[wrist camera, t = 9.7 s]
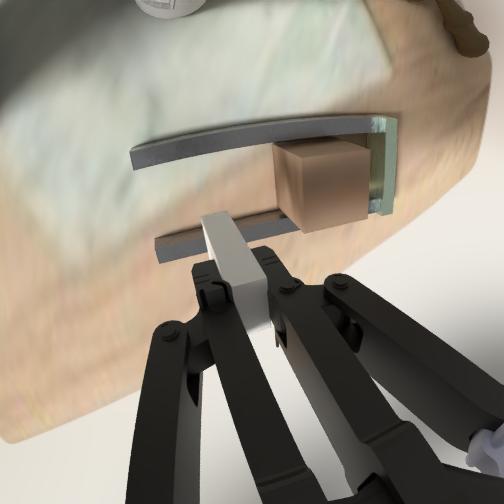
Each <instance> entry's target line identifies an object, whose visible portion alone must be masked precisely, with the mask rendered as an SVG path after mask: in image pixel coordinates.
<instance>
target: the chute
mask: <svg viewBox="0 0 504 504" xmlns="http://www.w3.org/2000/svg"><path fill="white" fill-rule="evenodd" d="M356 133H367V149H370V182H369V203H368V214H371V213H375V212H376V213H378V214H379V215H381V216H384V215H388V214H392V213H393V202H394V190H395V176H396V157H397V118H393V117H388V116H384V115H379V114H365V115H338V116H321V117H308V118H296V119H286V120H277V121H269V122H261V123H253V124H246V125H239V126H233V127H227V128H221V129H215V130H209V131H204V132H199V133H194V134H189V135H184V136H179V137H175V138H170V139H166V140H161V141H157V142H153V143H149V144H145V145H141V146H137V147H133V148H132V149H131V150H130V157H131V161H132V166H133V170H138V169H142V168H145V167H149V166H153V165H157V164H162V163H166V162H170V161H174V160H179V159H183V158H188V157H193V156H197V155H202V154H207V153H212V152H218V151H223V150H228V149H234V148H240V147H246V146H252V145H258V144H265V143H272V142H279V141H286V140H294V139H302V138H311V137H321V136H331V135H342V134H356ZM233 221H234V223H235V225H236V226H237V228H238V230H239V231H240V233H241V235H242V236H243V238H244V240H245V241H246V243H247V242H251V241H255V240H259V239H264V238H268V237H272V236H276V235H280V234H285V233H289V232H293V231H297V230H300V229H299V228H298V226H297V225H296V224H295V223H294V222H293V221H292V220H291V219H290V218H289V217H288V216H287V215H286V214H285V213H284V212H283V211H282V210H276V211H272V212H267V213H262V214H258V215H253V216H249V217H244V218H240V219H235V220H233ZM155 251H156V255H157V258H158V261H159V264H161V263H165V262H169V261H173V260H177V259H181V258H185V257H189V256H193V255H197V254H201V253H205V252H208V250H207V245H206V240H205V236H204V231H203V227H201V228H197V229H192V230H188V231H184V232H180V233H176V234H172V235H168V236H164V237H160V238H156V239H155Z"/></svg>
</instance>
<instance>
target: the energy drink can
mask: <svg viewBox="0 0 504 504" xmlns="http://www.w3.org/2000/svg"><path fill="white" fill-rule="evenodd" d="M135 1H136V3H137V5H138V6H139V8H140V9H141V10H143V11H144V12H145V13H147V14H149V15H151V16H154V17H157V18H163V19H174V18H179V17H183V16H186V15H189V14H191V13H192V12H194V11H196V10H197V9H199V8H200V7H201V6H202V5H203V4H204V3H205V2H206V0H135Z"/></svg>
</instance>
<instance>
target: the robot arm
mask: <svg viewBox="0 0 504 504" xmlns="http://www.w3.org/2000/svg"><path fill="white" fill-rule="evenodd" d="M201 221H202V226H203V231H204V236H205V240H206V245H207V250H208V255H209V259H210V260H208V261H204V262H200V263H196V264H194V266H193V268H192V271H191V272H192V276H193V281H194V285H195V289H196V296H197V299H198V303H199V306H200V308H199V312H198V313H197V315H196V316H195V317H194V318H193V319H191V320H190V321H188V322H186V323H182V322H180V321H174V320H171V321H167V322H164V323H162V324H160V325H159V326H158V327H157V328H156V329H155V331H154V333H153V336H152V341H151V345H150V350H149V354H148V359H147V364H146V369H145V374H144V379H143V384H142V389H141V394H140V400H139V406H138V411H137V417H136V423H135V430H134V436H133V443H132V450H131V457H130V465H129V473H128V481H127V490H126V501H125V504H200V438H201V407H202V385H203V384H202V382H203V371H204V370H205V369H207V368H209V367H211V366H212V365H214V364H216V367H217V370H218V374H219V377H220V381H221V384H222V387H223V390H224V394H225V396H226V400H227V403H228V406H229V409H230V412H231V415H232V418H233V422H234V425H235V427H236V430H237V433H238V436H239V439H240V442H241V445H242V448H243V451H244V454H245V456H246V459H247V462H248V465H249V467H250V470H251V473H252V476H253V478H254V481H255V484H256V487H257V490H258V493H259V495H260V498H261V500H262V503H263V504H504V385H502V384H500V383H499V382H498V381H496V380H495V379H494V378H492V377H491V376H489V375H488V374H487V373H486V372H485V371H483V370H482V369H480V368H479V367H478V366H477V365H475V364H474V363H473V362H471V361H470V360H469V359H467V358H466V357H465V356H463V355H462V354H461V353H459V352H458V351H456V350H455V349H454V348H452V347H451V346H450V345H448V344H447V343H445V342H444V341H443V340H441V339H440V338H439V337H437V336H436V335H434V334H433V333H431V332H430V331H429V330H428V329H426V328H425V327H423V326H422V325H420V324H419V323H418V322H416V321H415V320H413V319H412V318H411V317H409V316H408V315H406V314H405V313H404V312H402V311H401V310H399V309H398V308H396V307H395V306H393V305H392V304H391V303H389V302H388V301H386V300H385V299H383V298H382V297H380V296H379V295H378V294H376V293H375V292H373V291H372V290H370V289H369V288H367V287H366V286H364V285H363V284H361V283H360V282H359V281H357V280H356V279H354V278H353V277H351V276H349V275H346V274H341V273H338V274H332V275H329V276H328V277H327V278H326V279H325V281H324V285H305V284H304V283H303V282H302V281H301V280H300V279H297V278H295V277H292V276H291V275H290V273H289V272H288V270H287V269H286V268H285V266H284V265H283V263H282V262H281V261H280V259H279V258H278V257H277V255H276V254H275V252H274V251H273V250H272V249H271V248H269V247H267V246H261V247H257V248H253V249H250V248H249V247H248V245H247V243H246V241H245V240H244V238H243V236H242V235H241V233H240V231H239V230H238V228H237V226H236V225H235V223H234V221H233V220H232V218H231V216H230V215H229V213H228V211H223V212H219V213H214V214H210V215H206V216H201ZM271 321H272V322H273V324H274V327H275V340H276V347H279V343H280V345H281V347H282V349H283V351H284V353H285V355H286V357H287V359H288V361H289V363H290V365H291V367H292V369H293V371H294V373H295V374H296V377H297V379H298V381H299V383H300V385H301V387H302V388H303V390H304V392H305V394H306V396H307V398H308V400H309V402H310V404H311V406H312V408H313V410H314V412H315V414H316V415H317V417H318V419H319V421H320V423H321V425H322V427H323V429H324V431H325V433H326V434H327V436H328V438H329V440H330V442H331V444H332V446H333V448H334V450H335V452H336V453H337V455H338V457H339V459H340V461H341V463H342V465H343V467H344V470H345V477H346V479H347V482H348V484H349V486H350V488H351V490H352V492H353V494H354V496H351V497H347V498H343V499H338V500H333V501H327V499H326V497H325V495H324V493H323V491H322V489H321V487H320V485H319V483H318V481H317V479H316V477H315V475H314V473H313V472H312V471H311V469H310V468H308V467H307V465H306V464H305V462H304V460H303V458H302V456H301V453H300V451H299V449H298V447H297V445H296V443H295V441H294V439H293V436H292V434H291V432H290V430H289V428H288V426H287V423H286V421H285V419H284V417H283V414H282V412H281V410H280V408H279V406H278V403H277V401H276V399H275V397H274V395H273V392H272V390H271V388H270V385H269V383H268V381H267V379H266V376H265V374H264V372H263V369H262V367H261V365H260V362H259V360H258V358H257V356H256V353H255V351H254V349H253V346H252V344H251V341H250V339H249V337H248V334H251V333H254V332H257V331H261V330H264V329H267V328H271ZM370 376H371V377H372V378H373V379H374V380H376V381H377V382H378V383H379V384H380V385H381V386H382V387H384V388H385V389H386V390H387V391H388V392H389V393H390V394H392V395H393V396H394V397H395V398H396V399H397V400H398V401H399V402H401V403H402V404H403V405H404V406H405V407H406V408H408V409H409V410H410V411H411V412H412V413H413V414H414V415H416V416H417V417H418V418H419V419H420V420H421V421H423V422H424V423H425V424H426V425H427V426H428V427H429V428H431V429H432V430H433V431H434V432H435V433H437V434H438V435H439V436H440V437H441V438H443V439H444V440H445V441H446V442H448V443H449V444H451V445H452V446H454V447H456V448H458V449H460V450H462V451H464V452H467V453H468V455H467V456H466V464H467V465H468V466H469V467H476V468H478V469H479V470H480V471H481V473H478V472H474V471H470V470H466V469H462V468H458V467H455V466H451V465H447V464H444V463H441V462H440V460H439V459H438V457H437V456H436V454H435V453H434V452H433V450H432V448H431V447H430V445H429V444H428V442H427V441H426V439H425V438H424V437H423V435H422V434H421V432H420V431H419V429H418V428H417V427H416V426H415V425H414V424H413V423H411V422H410V421H403V420H401V419H400V418H399V417H398V416H397V415H396V413H395V412H394V410H393V409H392V407H391V406H390V404H389V403H388V402H387V400H386V399H385V397H384V396H383V394H382V393H381V391H380V390H379V389H378V387H377V386H376V384H375V383H374V381H373V380H372V378H371V377H370Z"/></svg>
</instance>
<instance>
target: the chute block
mask: <svg viewBox="0 0 504 504" xmlns="http://www.w3.org/2000/svg"><path fill="white" fill-rule="evenodd" d="M272 149H273V160H274V171H275V183H276V195H277V206H278V207H279V208H280V209H281V210H282V211H283V212H284V213H285V214H286V215H287V216H288V217H289V218H290V219H291V220H292V221H293V222H294V223H295V224H296V225H297V226H298V228H299V229H300V230H301V231H302V232H303V233H304V234H306V233H310V232H314V231H318V230H322V229H327V228H331V227H335V226H339V225H343V224H347V223H352V222H356V221H360V220H364V219H368V203H369V182H370V149H367V148H364V147H361V146H358V145H356V144H353V143H350V142H347V141H344V140H341V139H338V138H335V137H323V138H313V139H305V140H296V141H288V142H281V143H274V144H272Z"/></svg>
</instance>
